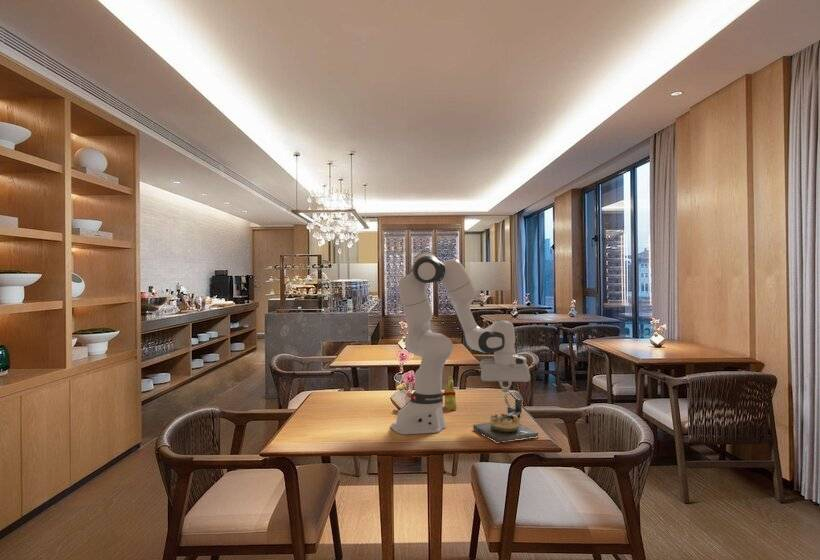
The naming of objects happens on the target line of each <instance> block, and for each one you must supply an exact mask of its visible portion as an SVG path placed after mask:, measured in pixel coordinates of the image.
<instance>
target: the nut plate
mask: <svg viewBox="0 0 820 560" xmlns="http://www.w3.org/2000/svg"><path fill="white" fill-rule="evenodd" d="M472 427H473V428H472V429H474V430H473V431H475V430H476V431H475V432H477V431H478V432H480V433H481V434H480V433H479V434H480V435H482V434H483V435H485V436H487V437H489V438H491V439H493V440H495V441H496V442H502V441H508V440H515V439H522V438H529V437H536V436H538V437H539V432H538V431H536V430H534V429H531V428H530V427H528V426H525V425H523V424H521V423H519V430H518V431H515V432H499V431H495V430H493V429H491V421H490V422H484V423H476V424H472ZM478 432H477V433H478ZM483 435H482V436H483ZM485 436H484V437H485ZM487 437H486V438H487Z"/></svg>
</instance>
